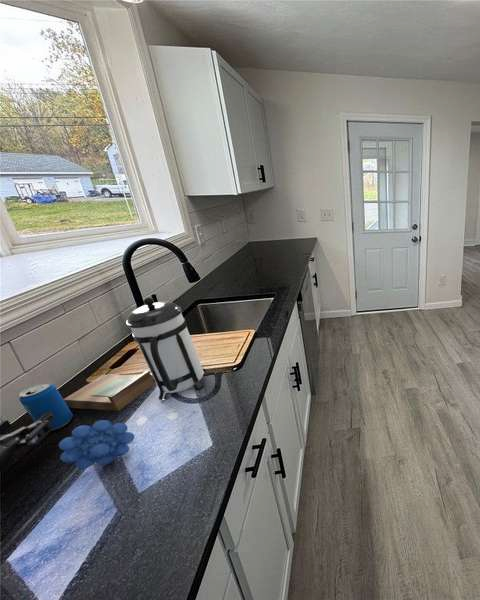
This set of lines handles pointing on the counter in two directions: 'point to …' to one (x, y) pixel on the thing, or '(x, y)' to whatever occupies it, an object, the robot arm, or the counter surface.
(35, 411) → the beverage can
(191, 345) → the coffee press
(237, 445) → the counter surface
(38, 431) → the robot arm
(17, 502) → the counter surface
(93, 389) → the shallow wooden tray
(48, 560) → the counter surface
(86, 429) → the blue lobed cluster
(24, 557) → the counter surface
